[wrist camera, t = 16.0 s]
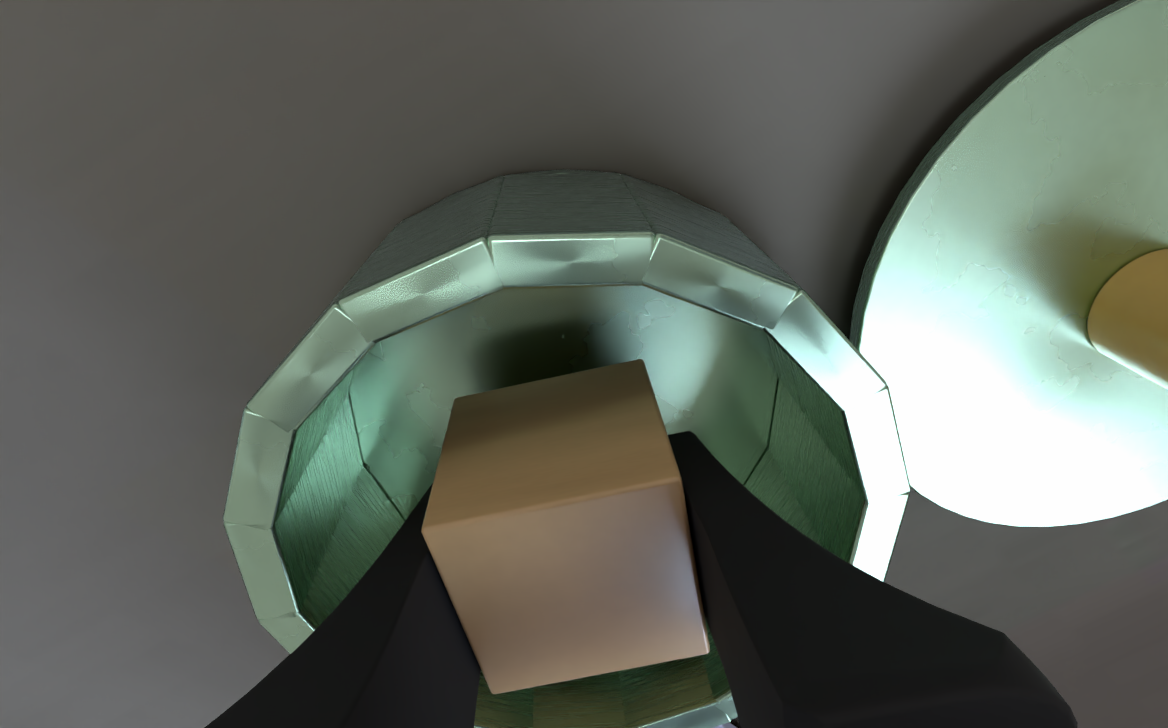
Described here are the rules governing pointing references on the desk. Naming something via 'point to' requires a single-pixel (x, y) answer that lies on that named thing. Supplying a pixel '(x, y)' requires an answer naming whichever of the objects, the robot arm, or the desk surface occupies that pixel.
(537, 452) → the block
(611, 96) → the desk surface
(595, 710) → the tin
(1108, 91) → the tin lid
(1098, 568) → the desk surface
